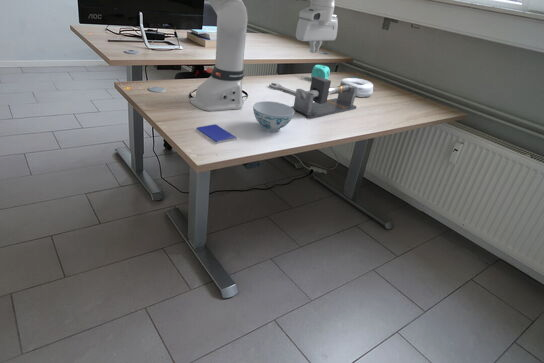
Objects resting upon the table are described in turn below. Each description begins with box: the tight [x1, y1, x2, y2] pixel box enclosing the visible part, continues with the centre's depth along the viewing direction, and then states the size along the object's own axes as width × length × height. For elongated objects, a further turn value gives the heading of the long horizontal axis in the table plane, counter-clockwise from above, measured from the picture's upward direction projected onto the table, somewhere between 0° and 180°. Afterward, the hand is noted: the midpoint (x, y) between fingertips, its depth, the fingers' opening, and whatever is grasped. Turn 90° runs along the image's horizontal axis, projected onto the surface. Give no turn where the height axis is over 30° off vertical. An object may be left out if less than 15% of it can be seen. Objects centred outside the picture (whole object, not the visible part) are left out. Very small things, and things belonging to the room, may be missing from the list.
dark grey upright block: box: [309, 76, 332, 104], centre depth 160 cm, size 4×7×10 cm, turn 43°
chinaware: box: [252, 100, 295, 133], centre depth 138 cm, size 15×15×8 cm
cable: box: [340, 77, 374, 98], centre depth 198 cm, size 18×18×6 cm
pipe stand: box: [290, 82, 357, 120], centre depth 166 cm, size 32×12×10 cm, turn 133°
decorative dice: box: [310, 64, 331, 80], centre depth 208 cm, size 8×8×8 cm
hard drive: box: [196, 124, 238, 145], centre depth 128 cm, size 2×8×12 cm
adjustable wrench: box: [268, 82, 296, 96], centre depth 182 cm, size 25×6×2 cm, turn 47°
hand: (313, 52), depth 147 cm, fingers closed
